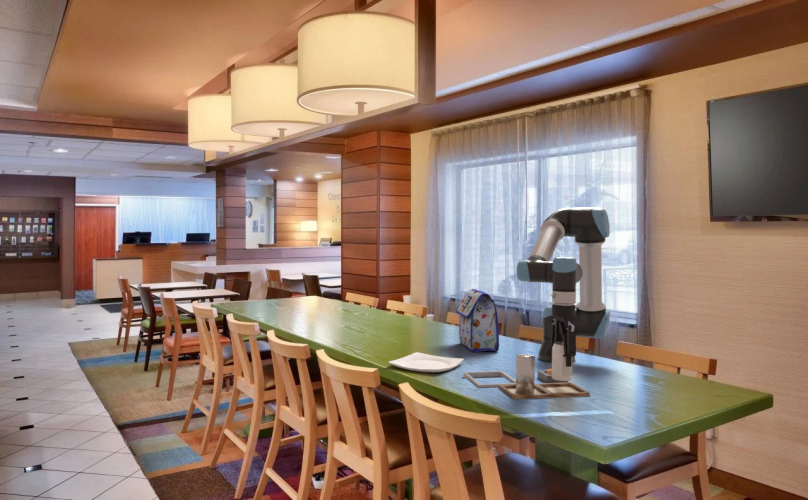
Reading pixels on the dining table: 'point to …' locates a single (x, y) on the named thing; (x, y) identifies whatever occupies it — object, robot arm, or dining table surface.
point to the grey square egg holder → (547, 377)
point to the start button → (549, 371)
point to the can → (558, 362)
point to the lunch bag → (478, 322)
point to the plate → (426, 363)
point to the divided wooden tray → (547, 391)
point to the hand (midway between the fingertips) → (562, 373)
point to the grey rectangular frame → (488, 374)
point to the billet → (525, 374)
